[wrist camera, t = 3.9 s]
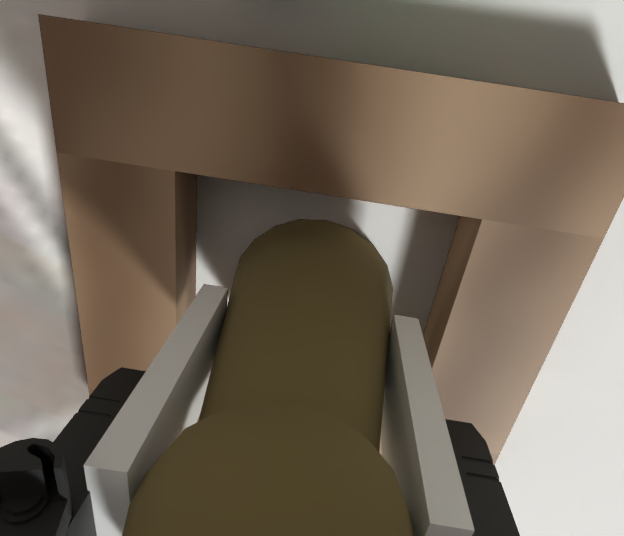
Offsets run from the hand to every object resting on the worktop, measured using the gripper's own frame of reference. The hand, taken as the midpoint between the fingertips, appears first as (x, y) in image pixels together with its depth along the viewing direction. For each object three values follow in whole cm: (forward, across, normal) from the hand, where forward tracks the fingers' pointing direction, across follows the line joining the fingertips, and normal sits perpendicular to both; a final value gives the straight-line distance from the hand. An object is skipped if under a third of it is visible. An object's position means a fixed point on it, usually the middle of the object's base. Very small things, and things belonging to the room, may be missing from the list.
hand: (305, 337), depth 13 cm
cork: (+3, 0, 0) cm, 3 cm away
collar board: (+3, 0, 0) cm, 3 cm away
